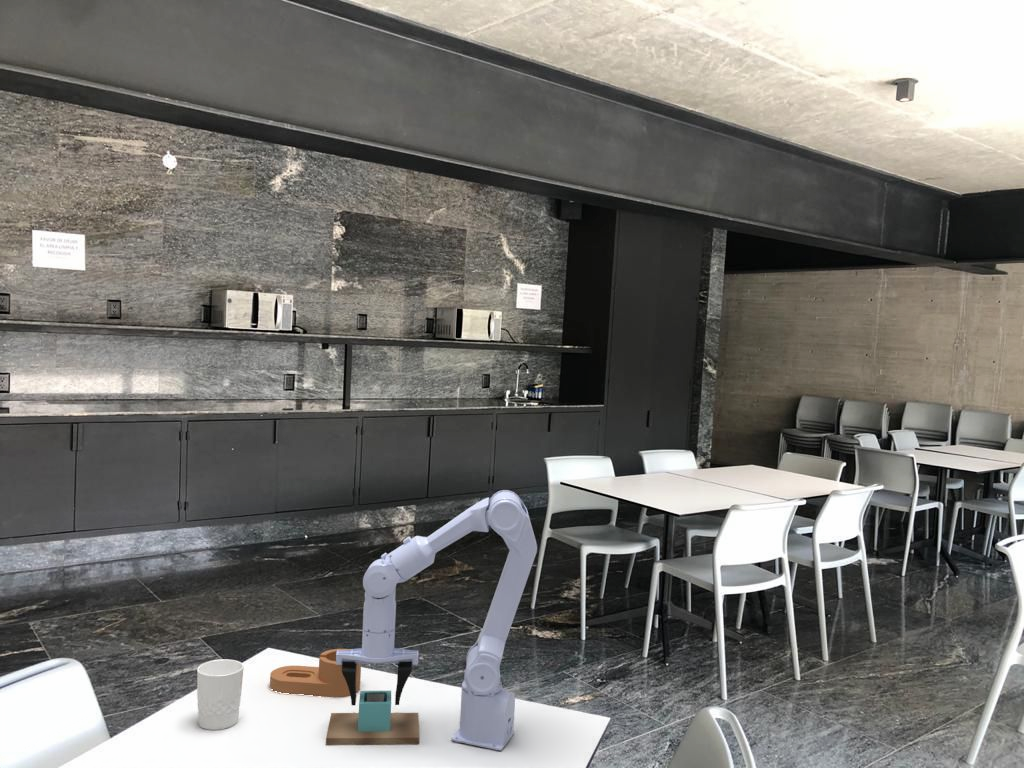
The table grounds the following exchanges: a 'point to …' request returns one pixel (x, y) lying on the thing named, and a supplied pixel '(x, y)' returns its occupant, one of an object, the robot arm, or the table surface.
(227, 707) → the white cup
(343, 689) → the bracket
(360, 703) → the teal collar
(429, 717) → the table surface
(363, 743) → the post stand
